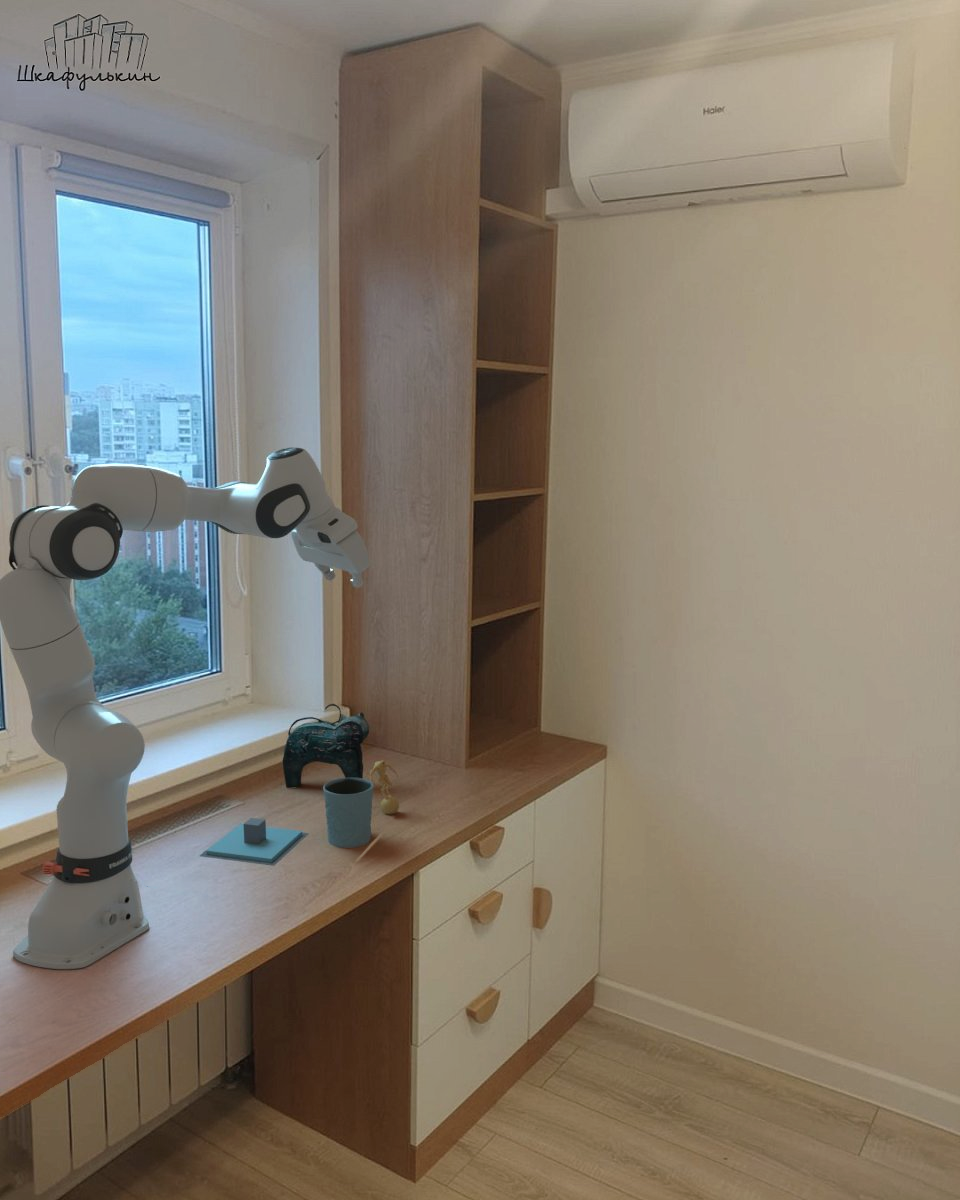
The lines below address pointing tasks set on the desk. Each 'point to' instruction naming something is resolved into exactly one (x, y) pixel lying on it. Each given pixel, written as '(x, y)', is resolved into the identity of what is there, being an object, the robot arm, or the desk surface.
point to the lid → (254, 842)
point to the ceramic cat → (325, 746)
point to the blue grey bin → (348, 811)
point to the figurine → (388, 803)
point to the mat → (260, 861)
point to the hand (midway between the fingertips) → (344, 582)
